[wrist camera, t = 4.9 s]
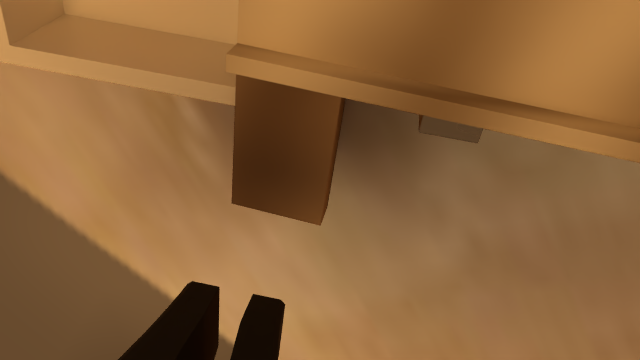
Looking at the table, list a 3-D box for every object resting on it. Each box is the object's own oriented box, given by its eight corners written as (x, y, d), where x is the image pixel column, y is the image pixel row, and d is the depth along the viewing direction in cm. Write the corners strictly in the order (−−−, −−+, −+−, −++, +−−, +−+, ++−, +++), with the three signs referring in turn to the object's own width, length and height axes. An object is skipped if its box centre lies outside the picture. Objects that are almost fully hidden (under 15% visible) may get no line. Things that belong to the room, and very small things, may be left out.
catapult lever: (810, -64, 11) (903, -30, 9) (603, 274, 17) (624, 351, 15) (258, -157, 13) (207, -148, 10) (242, 186, 18) (207, 242, 16)
